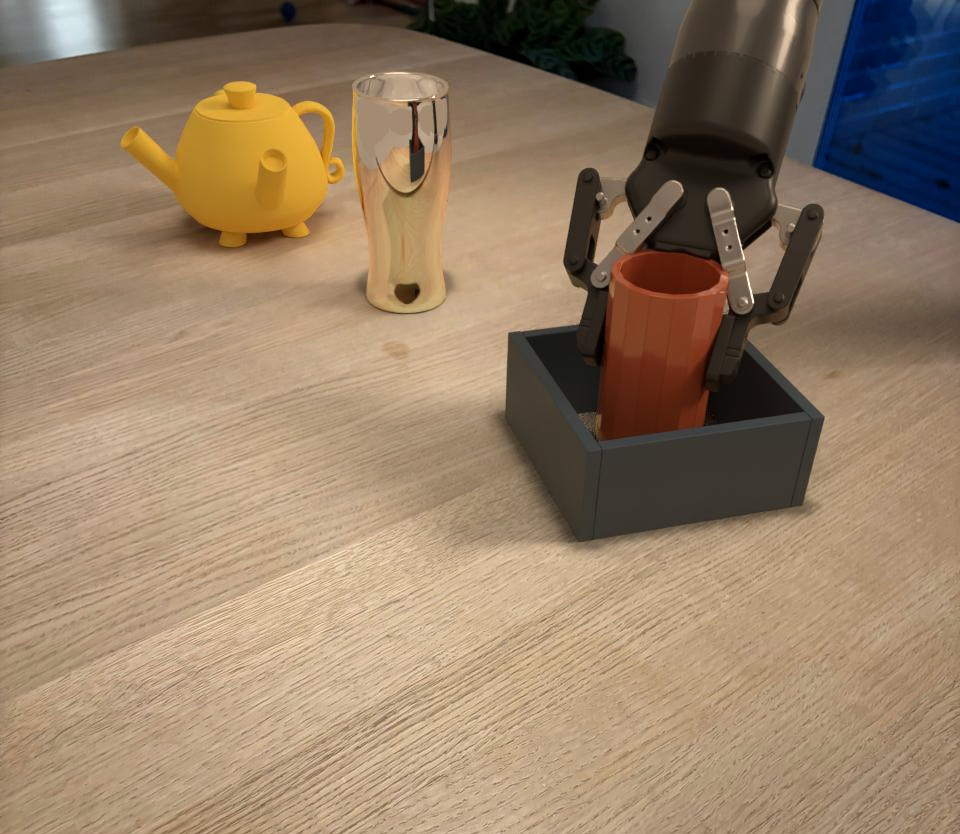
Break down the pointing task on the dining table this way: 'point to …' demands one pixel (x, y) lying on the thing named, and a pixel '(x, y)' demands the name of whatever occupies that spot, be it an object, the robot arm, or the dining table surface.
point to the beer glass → (403, 184)
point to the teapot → (245, 163)
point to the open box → (657, 444)
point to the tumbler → (658, 343)
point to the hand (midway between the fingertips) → (650, 373)
